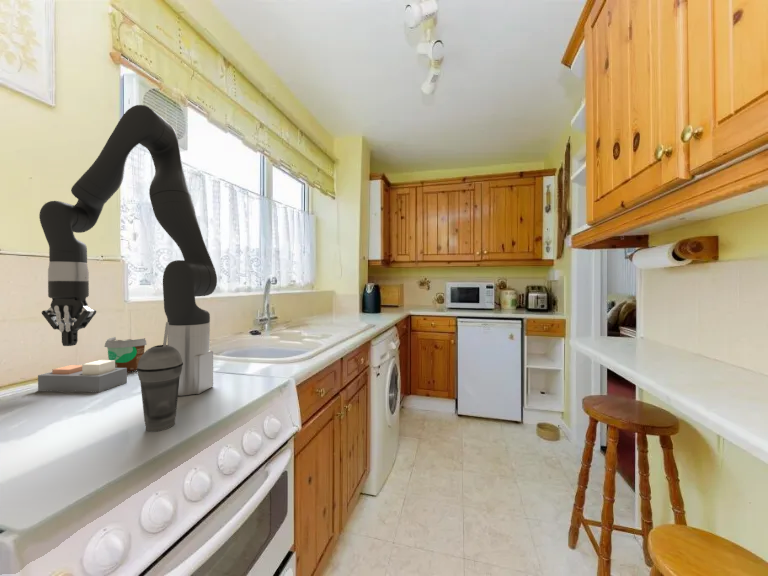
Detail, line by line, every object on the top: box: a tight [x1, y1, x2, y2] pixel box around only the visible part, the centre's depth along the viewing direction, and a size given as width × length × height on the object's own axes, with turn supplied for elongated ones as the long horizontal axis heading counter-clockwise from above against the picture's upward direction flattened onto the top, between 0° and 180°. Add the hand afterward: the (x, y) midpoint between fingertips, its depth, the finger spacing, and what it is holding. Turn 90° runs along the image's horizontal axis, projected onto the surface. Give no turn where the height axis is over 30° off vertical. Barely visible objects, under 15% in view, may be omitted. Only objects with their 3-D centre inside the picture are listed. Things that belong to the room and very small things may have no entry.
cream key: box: [81, 359, 115, 375], centre depth 82 cm, size 4×4×4 cm
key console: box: [37, 368, 128, 393], centre depth 82 cm, size 16×8×4 cm, turn 88°
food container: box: [104, 336, 148, 373], centre depth 97 cm, size 12×6×10 cm, turn 81°
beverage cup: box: [136, 321, 183, 432], centre depth 60 cm, size 7×7×20 cm
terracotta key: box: [51, 364, 82, 374], centre depth 82 cm, size 4×4×4 cm
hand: (69, 345), depth 82 cm, fingers closed
